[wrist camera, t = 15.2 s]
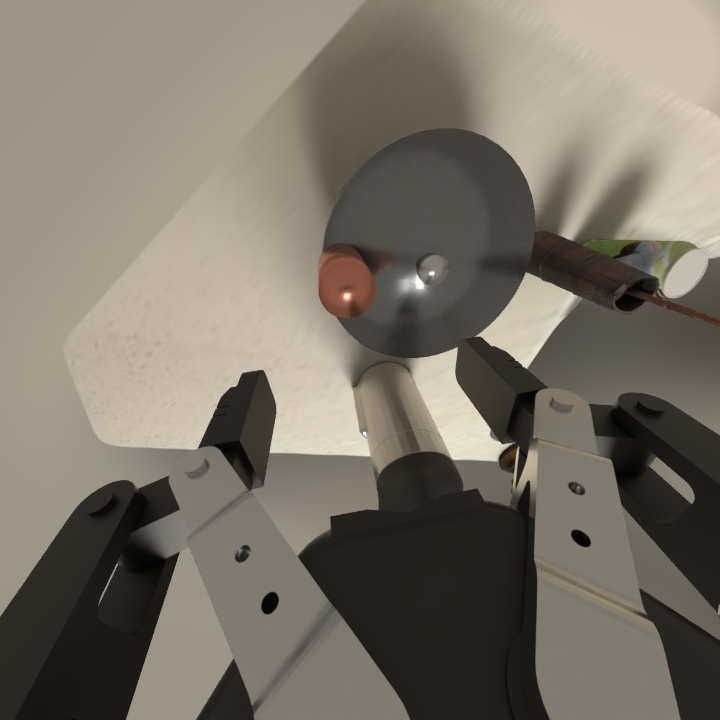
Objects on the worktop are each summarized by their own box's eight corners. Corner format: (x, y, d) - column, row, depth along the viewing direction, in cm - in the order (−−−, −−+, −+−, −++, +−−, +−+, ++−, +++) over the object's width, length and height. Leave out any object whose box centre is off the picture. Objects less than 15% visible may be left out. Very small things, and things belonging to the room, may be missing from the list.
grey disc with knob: (558, 140, 20) (665, 121, 14) (488, 347, 30) (532, 390, 24) (312, 121, 18) (309, 88, 12) (322, 353, 28) (323, 402, 21)
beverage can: (550, 273, 38) (632, 305, 28) (590, 219, 35) (699, 234, 25) (579, 289, 40) (666, 323, 30) (620, 239, 37) (732, 259, 27)
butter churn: (480, 263, 36) (775, 406, 13) (538, 194, 32) (1101, 219, 9) (520, 298, 40) (806, 459, 16) (576, 239, 36) (1047, 340, 13)
